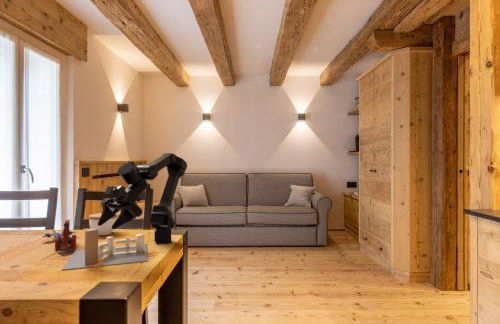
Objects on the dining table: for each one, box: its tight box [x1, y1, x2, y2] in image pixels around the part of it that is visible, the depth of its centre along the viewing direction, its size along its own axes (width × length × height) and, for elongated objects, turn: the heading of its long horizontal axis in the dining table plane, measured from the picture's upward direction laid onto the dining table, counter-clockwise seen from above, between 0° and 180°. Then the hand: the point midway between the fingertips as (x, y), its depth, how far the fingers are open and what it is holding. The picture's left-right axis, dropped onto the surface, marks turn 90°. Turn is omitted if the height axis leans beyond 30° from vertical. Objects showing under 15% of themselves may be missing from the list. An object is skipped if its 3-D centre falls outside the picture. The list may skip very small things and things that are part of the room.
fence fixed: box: [106, 233, 145, 255], centre depth 118 cm, size 13×3×6 cm, turn 109°
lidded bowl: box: [88, 210, 119, 236], centre depth 152 cm, size 13×13×11 cm
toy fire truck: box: [54, 219, 77, 250], centre depth 128 cm, size 7×12×10 cm, turn 26°
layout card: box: [61, 243, 149, 271], centre depth 115 cm, size 26×24×1 cm
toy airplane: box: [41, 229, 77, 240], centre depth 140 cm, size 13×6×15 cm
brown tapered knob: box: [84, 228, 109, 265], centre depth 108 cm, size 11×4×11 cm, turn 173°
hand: (105, 226), depth 108 cm, fingers open, 9 cm apart
